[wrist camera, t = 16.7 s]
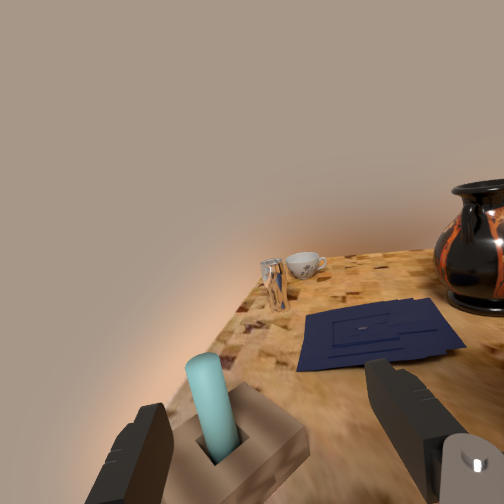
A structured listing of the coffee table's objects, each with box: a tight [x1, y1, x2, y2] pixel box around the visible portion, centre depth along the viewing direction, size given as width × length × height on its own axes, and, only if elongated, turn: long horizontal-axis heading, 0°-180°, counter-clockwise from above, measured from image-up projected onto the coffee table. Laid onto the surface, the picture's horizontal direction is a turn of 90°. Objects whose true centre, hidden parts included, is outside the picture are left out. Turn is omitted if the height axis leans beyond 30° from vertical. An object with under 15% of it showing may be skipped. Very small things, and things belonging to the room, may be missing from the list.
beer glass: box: [260, 258, 290, 313], centre depth 86 cm, size 7×7×15 cm
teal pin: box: [185, 353, 241, 466], centre depth 39 cm, size 4×4×16 cm
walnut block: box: [162, 382, 310, 504], centre depth 40 cm, size 18×14×5 cm
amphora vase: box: [433, 179, 504, 316], centre depth 66 cm, size 22×22×28 cm
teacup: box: [285, 252, 327, 279], centre depth 110 cm, size 15×12×8 cm
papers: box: [296, 298, 466, 372], centre depth 64 cm, size 24×30×4 cm
